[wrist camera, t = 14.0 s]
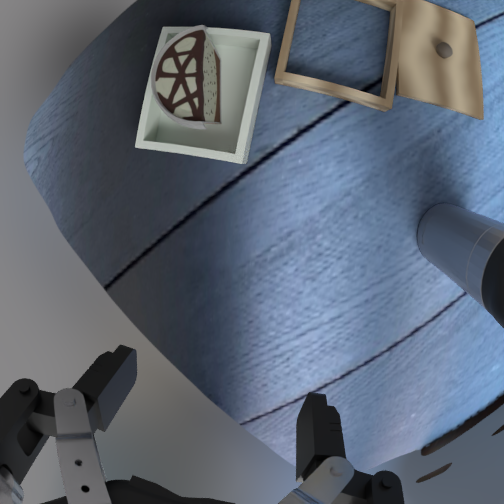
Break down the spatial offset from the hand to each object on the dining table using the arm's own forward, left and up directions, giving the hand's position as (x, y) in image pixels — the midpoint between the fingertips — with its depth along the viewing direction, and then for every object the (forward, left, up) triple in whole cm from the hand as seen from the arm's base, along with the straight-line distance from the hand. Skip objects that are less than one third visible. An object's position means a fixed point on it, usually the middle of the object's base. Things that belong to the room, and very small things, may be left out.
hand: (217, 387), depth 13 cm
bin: (+11, -17, -30) cm, 36 cm away
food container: (+12, -17, -30) cm, 36 cm away
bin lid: (-20, -33, -30) cm, 49 cm away
